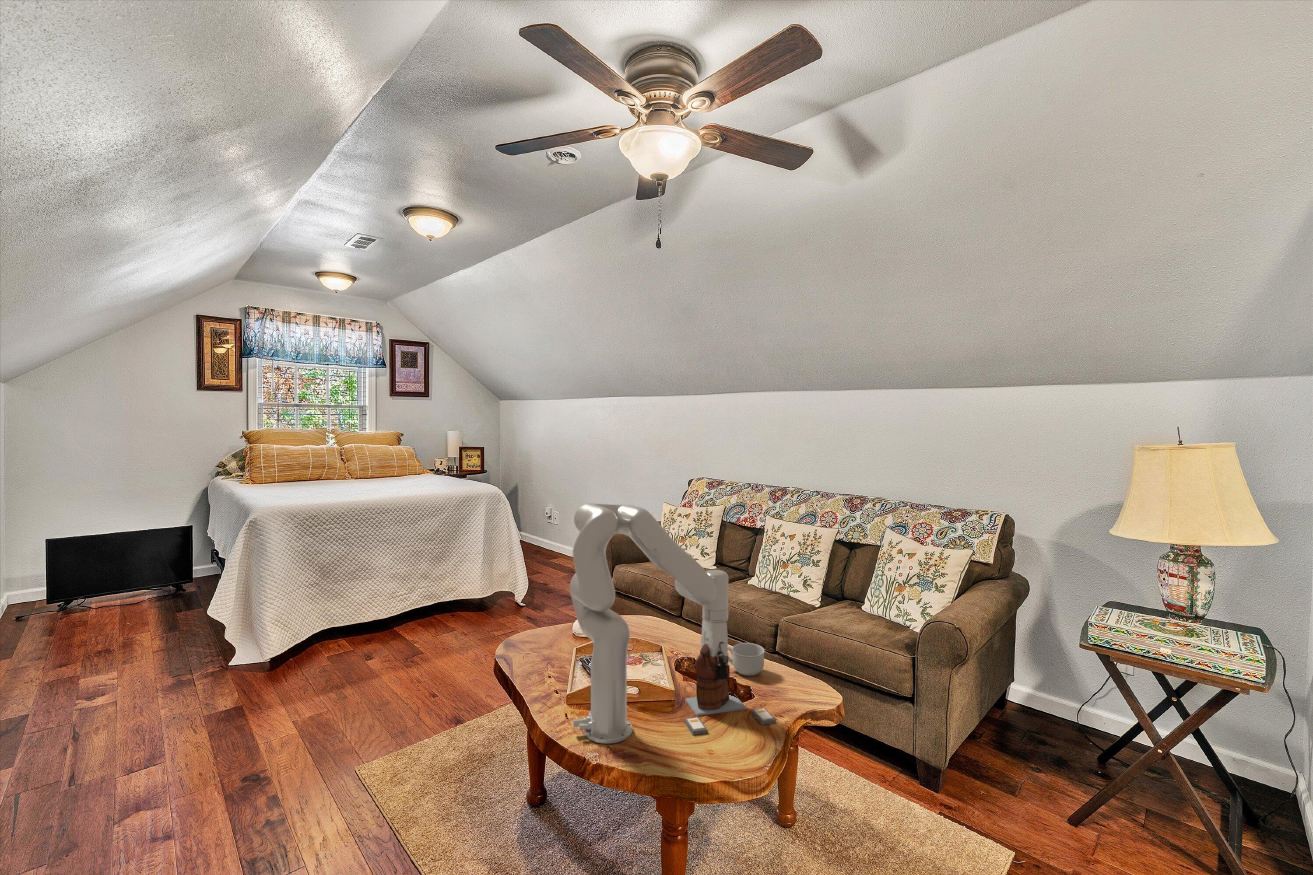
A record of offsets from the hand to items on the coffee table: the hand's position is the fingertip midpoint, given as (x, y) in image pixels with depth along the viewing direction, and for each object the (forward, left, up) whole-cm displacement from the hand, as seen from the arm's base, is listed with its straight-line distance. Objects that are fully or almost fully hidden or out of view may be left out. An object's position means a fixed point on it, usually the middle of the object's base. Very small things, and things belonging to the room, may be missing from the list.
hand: (714, 671), depth 169 cm
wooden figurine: (0, 0, -9) cm, 9 cm away
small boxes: (0, -11, -10) cm, 15 cm away
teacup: (+18, +20, -10) cm, 29 cm away
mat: (0, 0, -10) cm, 10 cm away
